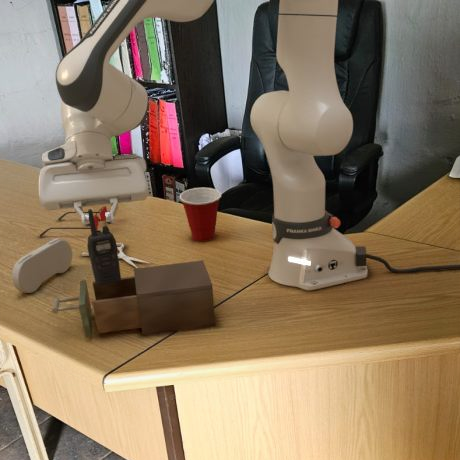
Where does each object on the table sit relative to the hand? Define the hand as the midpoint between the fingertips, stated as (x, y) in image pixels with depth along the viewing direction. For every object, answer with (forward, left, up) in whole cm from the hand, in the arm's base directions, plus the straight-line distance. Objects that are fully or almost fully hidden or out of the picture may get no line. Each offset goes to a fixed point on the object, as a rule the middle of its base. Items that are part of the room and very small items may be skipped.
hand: (98, 224), depth 119 cm
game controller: (+15, -28, -22) cm, 39 cm away
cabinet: (-13, -1, -22) cm, 25 cm away
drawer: (+2, -1, -21) cm, 21 cm away
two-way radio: (0, -1, -12) cm, 12 cm away
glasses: (+9, -63, -22) cm, 67 cm away
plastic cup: (-25, -44, -22) cm, 55 cm away
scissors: (-3, -36, -22) cm, 42 cm away
